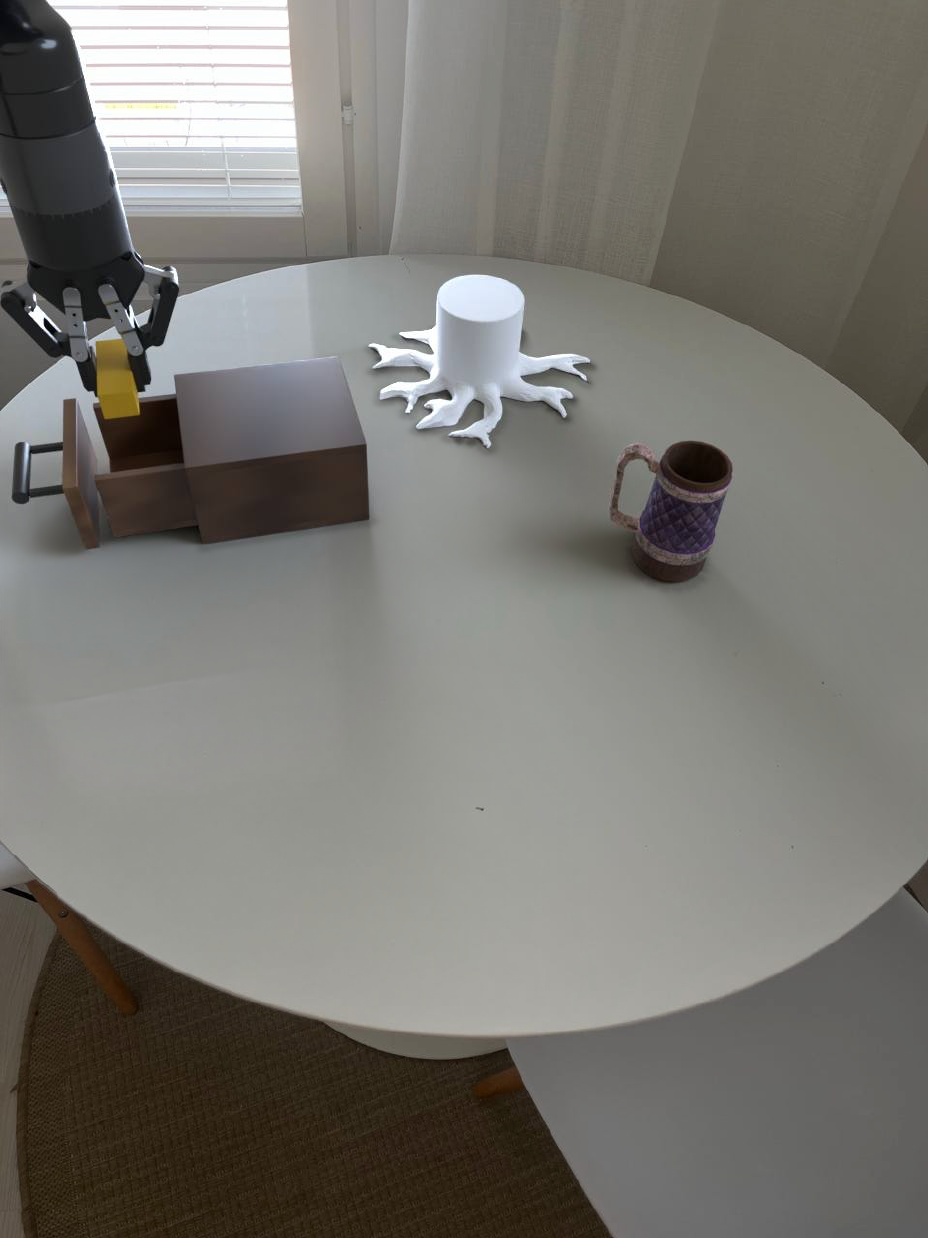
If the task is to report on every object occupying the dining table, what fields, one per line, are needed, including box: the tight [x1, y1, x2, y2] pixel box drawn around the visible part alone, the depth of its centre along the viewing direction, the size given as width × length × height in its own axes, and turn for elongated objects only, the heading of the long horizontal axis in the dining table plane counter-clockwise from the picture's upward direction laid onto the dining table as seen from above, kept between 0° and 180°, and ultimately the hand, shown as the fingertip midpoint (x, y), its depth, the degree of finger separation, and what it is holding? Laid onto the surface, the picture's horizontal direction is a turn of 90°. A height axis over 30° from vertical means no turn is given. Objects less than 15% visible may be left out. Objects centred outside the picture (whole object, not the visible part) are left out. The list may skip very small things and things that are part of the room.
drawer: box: [11, 393, 198, 551], centre depth 84 cm, size 20×12×7 cm, turn 105°
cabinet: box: [173, 355, 371, 545], centre depth 86 cm, size 16×14×9 cm
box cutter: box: [95, 338, 140, 419], centre depth 77 cm, size 9×3×2 cm, turn 15°
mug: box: [608, 440, 734, 582], centre depth 82 cm, size 10×7×12 cm
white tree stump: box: [368, 273, 591, 449], centre depth 100 cm, size 23×25×9 cm
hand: (120, 388), depth 77 cm, fingers closed on box cutter, 2 cm apart
